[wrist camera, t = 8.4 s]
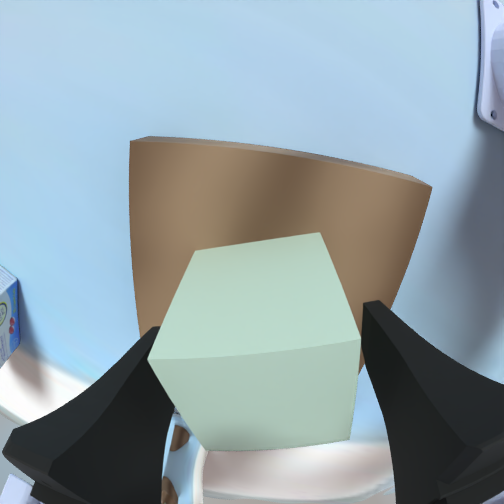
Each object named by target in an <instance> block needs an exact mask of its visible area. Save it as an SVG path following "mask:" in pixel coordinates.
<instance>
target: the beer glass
mask: <svg viewBox="0 0 504 504" xmlns="http://www.w3.org/2000/svg"><path fill="white" fill-rule="evenodd" d="M207 454H208V451H206V450H205V449H204V448H203V446H202V445H201V444H200V442H199V441H198V439H197V438H196V437H195V435H194V434H193V432H192V431H191V429H190V428H189V427H188V425H187V424H186V422H185V421H184V419H183V418H182V416H181V415H180V414H176V413H173V415H172V419H171V423H170V426H169V430H168V434H167V439H166V445H165V453H164V461H163V473H162V496H161V503H162V504H204V499H203V481H202V478H203V468H204V463H205V460H206V456H207Z"/></svg>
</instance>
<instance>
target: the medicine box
mask: <svg viewBox="0 0 504 504" xmlns="http://www.w3.org/2000/svg"><path fill="white" fill-rule="evenodd" d="M19 344H20V332H19V320H18V301H17V278H16V277H15V276H14V275H13V274H11V273H10V272H9V271H8V270H6V269H5V268H4V267H3V266H2V265H0V368H1V367H2V366H3V364H4V363H5V362H6V360H7V359H8V358H9V356H10V355H11V354H12V353H13V351H14V350H15V349H16V348H17V347H18V345H19Z"/></svg>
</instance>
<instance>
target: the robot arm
mask: <svg viewBox="0 0 504 504" xmlns="http://www.w3.org/2000/svg"><path fill="white" fill-rule="evenodd" d="M493 4H494V5H493ZM480 12H481V70H480V84H479V95H478V104H477V112H478V115H479V117H480V118H481V119H482V120H483V121H485V122H487V123H489V124H491V125H493V126H494V127H496V128H498V129H500V130H501V131H503V132H504V5H503V4H502V3H501V2H499V1H498V0H480ZM491 111H492V114H493V117H492V118H491ZM160 328H161V326H154V327H152V328H151V329H149V330H148V331H147V332H146V333H145V334H144V335H143V336H142V337H141V338H140V339H139V340H138V341H137V342H136V343H135V344H134V345H133V346H132V347H131V348H130V350H129V351H128V352H127V353H126V354H125V355H124V356H123V357H122V358H121V359H120V360H119V361H118V362H117V363H116V364H114V365H113V366H112V367H111V368H110V369H109V370H108V371H107V372H106V373H105V374H104V375H103V376H102V377H101V378H100V379H98V380H97V381H96V382H95V383H94V384H92V385H91V386H90V387H89V388H87V389H86V390H85V391H84V392H82V393H81V394H80V395H78V396H77V397H75V398H74V399H72V400H71V401H69V402H68V403H66V404H65V405H63V406H62V407H60V408H58V409H57V410H55V411H53V412H51V413H49V414H48V415H46V416H44V417H42V418H40V419H37V420H35V421H33V422H30V423H28V424H25V425H23V426H20V427H18V428H15V429H13V431H12V433H11V435H10V437H9V439H8V441H7V443H6V445H5V447H4V449H3V451H2V453H3V455H4V457H5V458H6V459H7V460H8V461H9V462H11V463H12V464H13V465H14V466H16V467H17V468H18V469H19V470H21V471H22V472H23V473H25V474H26V475H27V476H29V477H30V478H31V479H33V480H34V481H35V483H34V485H33V486H32V485H31V484H29V483H28V482H26V481H24V480H22V479H20V478H19V477H17V476H15V475H14V474H10V475H9V477H8V479H7V482H6V484H5V486H4V489H3V491H2V494H1V496H0V504H162V503H161V496H162V473H163V461H164V453H165V445H166V439H167V434H168V430H169V426H170V423H171V419H172V415H173V412H174V408H175V405H174V404H173V402H172V401H171V399H170V397H169V396H168V394H167V393H166V391H165V389H164V388H163V386H162V384H161V383H160V381H159V379H158V378H157V376H156V374H155V372H154V371H153V369H152V367H151V365H150V364H149V362H148V360H147V359H148V356H149V354H150V351H151V349H152V347H153V344H154V342H155V339H156V337H157V335H158V332H159V330H160ZM361 348H362V352H363V357H364V361H365V365H366V369H367V371H368V374H369V377H370V380H371V383H372V385H373V388H374V391H375V394H376V397H377V399H378V402H379V405H380V408H381V411H382V414H383V417H384V421H385V425H386V429H387V434H388V440H389V445H390V451H391V457H392V464H393V472H394V482H395V493H396V504H504V385H503V384H501V383H498V382H496V381H493V380H491V379H489V378H487V377H484V376H482V375H480V374H478V373H476V372H474V371H472V370H470V369H468V368H467V367H465V366H463V365H461V364H460V363H458V362H456V361H455V360H453V359H452V358H450V357H448V356H447V355H445V354H444V353H442V352H441V351H439V350H438V349H437V348H435V347H434V346H433V345H431V344H430V343H429V342H427V341H426V340H425V339H423V338H422V337H421V336H420V335H418V334H417V333H416V332H415V331H414V330H413V329H411V328H410V327H409V326H408V325H407V324H406V323H404V322H403V321H402V320H401V319H400V318H399V317H398V316H397V315H395V314H394V313H393V312H392V311H391V310H390V309H389V308H388V307H387V306H386V305H384V304H383V303H382V302H381V301H380V300H375V301H370V302H364V303H363V314H362V331H361Z"/></svg>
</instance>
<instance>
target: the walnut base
mask: <svg viewBox="0 0 504 504" xmlns="http://www.w3.org/2000/svg"><path fill="white" fill-rule="evenodd" d="M431 191H432V187H431V186H430V185H428V184H426V183H424V182H422V181H420V180H419V179H417V178H415V177H413V176H410V175H406V174H403V173H399V172H395V171H391V170H387V169H383V168H379V167H375V166H371V165H366V164H362V163H357V162H353V161H348V160H343V159H339V158H334V157H328V156H323V155H318V154H312V153H307V152H301V151H295V150H288V149H282V148H275V147H268V146H261V145H253V144H245V143H236V142H226V141H216V140H205V139H192V138H176V137H155V136H148V137H144V138H140V139H136V140H133V141H130V157H129V215H130V239H131V256H132V269H133V281H134V291H135V300H136V309H137V317H138V324H139V331H140V338H141V337H142V336H143V335H144V334H145V333H146V332H147V331H148V330H149V329H151V328H152V327H154V326H161V325H162V323H163V321H164V318H165V316H166V314H167V311H168V309H169V307H170V305H171V302H172V300H173V298H174V296H175V293H176V291H177V289H178V287H179V284H180V282H181V280H182V278H183V276H184V273H185V271H186V269H187V267H188V265H189V263H190V261H191V258H192V256H193V254H194V252H195V251H197V250H203V249H210V248H216V247H223V246H230V245H236V244H243V243H250V242H256V241H263V240H270V239H276V238H283V237H290V236H297V235H304V234H311V233H318V232H320V234H321V236H322V238H323V241H324V243H325V245H326V248H327V250H328V253H329V255H330V258H331V260H332V263H333V265H334V268H335V270H336V273H337V275H338V278H339V280H340V283H341V285H342V288H343V290H344V293H345V296H346V298H347V301H348V304H349V306H350V309H351V312H352V314H353V317H354V320H355V323H356V326H357V328H358V331H359V334H360V337H361V331H362V314H363V303H364V302H370V301H375V300H380V301H381V302H382V303H383V304H384V305H386V306H387V307H388V308H389V309H391V307H392V304H393V302H394V300H395V297H396V295H397V292H398V290H399V287H400V285H401V282H402V280H403V277H404V275H405V272H406V269H407V267H408V264H409V261H410V258H411V256H412V253H413V250H414V247H415V244H416V241H417V238H418V235H419V232H420V229H421V226H422V222H423V219H424V216H425V212H426V209H427V206H428V202H429V198H430V195H431ZM364 364H365V361H364V357H363V352H362V348H361V347H360V360H359V371H358V375H359V373H360V371H361V369H362V367H363V365H364Z"/></svg>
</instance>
